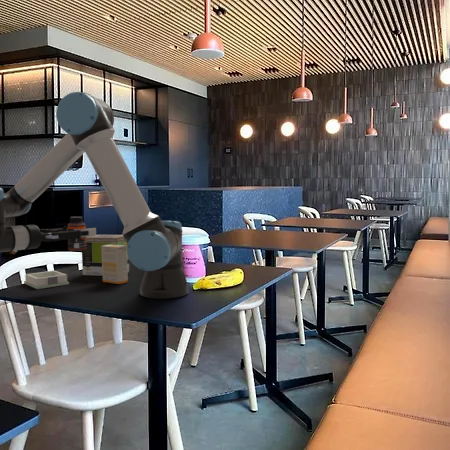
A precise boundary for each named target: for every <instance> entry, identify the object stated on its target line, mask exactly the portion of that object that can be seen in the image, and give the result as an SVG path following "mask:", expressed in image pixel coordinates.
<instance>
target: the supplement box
mask: <svg viewBox="0 0 450 450" xmlns="http://www.w3.org/2000/svg"><path fill="white" fill-rule="evenodd" d="M101 250H102V275H103V276H102V283H110V284H116V285H122V284H125V283H128V282H129V276H128V275H129V274H128V273H129V272H128V271H127V246H125V245H114V244H109V245H103V246H101Z"/></svg>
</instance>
